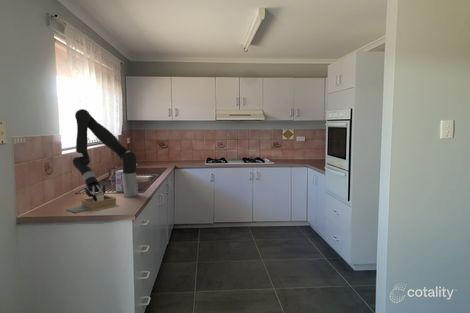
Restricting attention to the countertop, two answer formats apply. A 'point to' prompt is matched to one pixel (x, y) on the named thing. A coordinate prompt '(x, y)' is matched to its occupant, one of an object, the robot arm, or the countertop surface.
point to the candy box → (119, 181)
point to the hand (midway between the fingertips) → (100, 199)
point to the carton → (99, 203)
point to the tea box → (99, 196)
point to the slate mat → (77, 209)
